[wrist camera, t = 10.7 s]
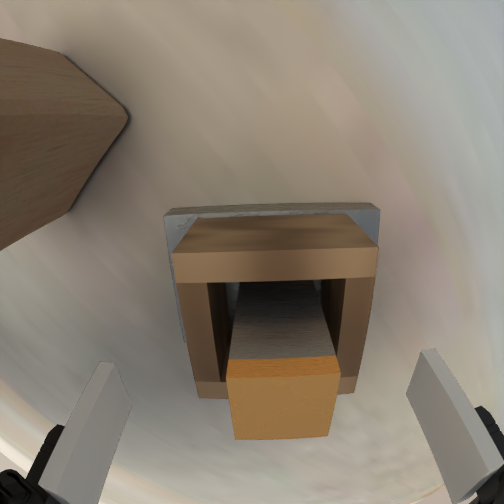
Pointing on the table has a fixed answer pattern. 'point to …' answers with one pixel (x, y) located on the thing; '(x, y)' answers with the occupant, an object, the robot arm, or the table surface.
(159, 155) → the table surface
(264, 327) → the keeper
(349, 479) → the table surface
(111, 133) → the block
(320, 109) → the table surface
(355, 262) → the wooden cube shelf
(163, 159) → the table surface
